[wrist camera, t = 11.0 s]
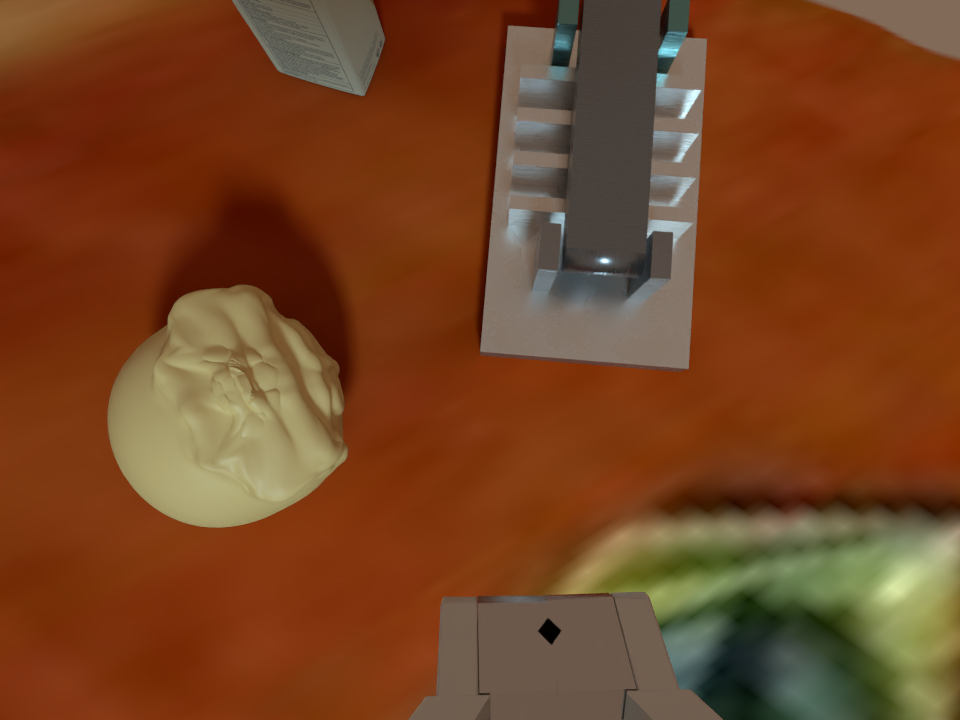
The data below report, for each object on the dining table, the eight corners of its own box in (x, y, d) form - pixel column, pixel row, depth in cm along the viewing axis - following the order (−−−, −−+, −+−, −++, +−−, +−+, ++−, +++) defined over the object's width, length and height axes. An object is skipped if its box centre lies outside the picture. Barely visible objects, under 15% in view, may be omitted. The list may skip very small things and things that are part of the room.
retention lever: (644, 273, 33) (662, -9, 34) (564, 266, 33) (585, -14, 34) (636, 282, 35) (653, 15, 36) (560, 275, 35) (580, 10, 36)
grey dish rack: (678, 371, 40) (725, 358, 32) (480, 355, 40) (477, 338, 32) (696, 57, 42) (744, -29, 34) (507, 44, 42) (510, -45, 34)
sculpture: (396, 451, 40) (360, 461, 29) (219, 547, 39) (117, 593, 29) (311, 287, 41) (246, 238, 30) (138, 379, 41) (9, 363, 30)
